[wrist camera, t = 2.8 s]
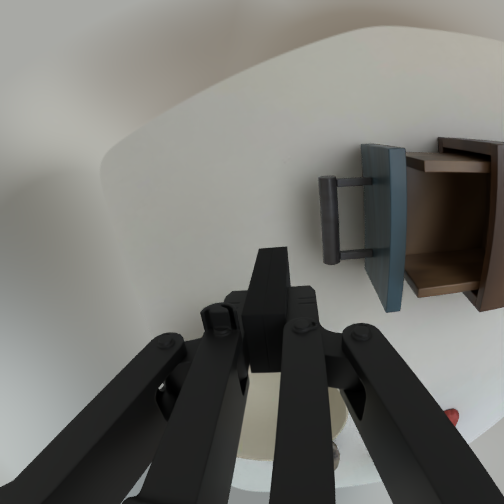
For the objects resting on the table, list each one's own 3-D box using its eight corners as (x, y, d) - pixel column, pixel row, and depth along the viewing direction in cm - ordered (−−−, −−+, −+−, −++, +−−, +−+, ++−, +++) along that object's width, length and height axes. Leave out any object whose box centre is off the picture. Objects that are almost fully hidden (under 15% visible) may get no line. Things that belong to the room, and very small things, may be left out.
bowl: (182, 300, 33) (147, 359, 24) (332, 282, 30) (347, 344, 21) (219, 400, 38) (203, 459, 29) (339, 391, 35) (347, 454, 26)
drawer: (321, 272, 29) (330, 318, 21) (312, 146, 25) (322, 150, 17) (479, 257, 26) (519, 291, 19) (485, 146, 22) (535, 156, 15)
